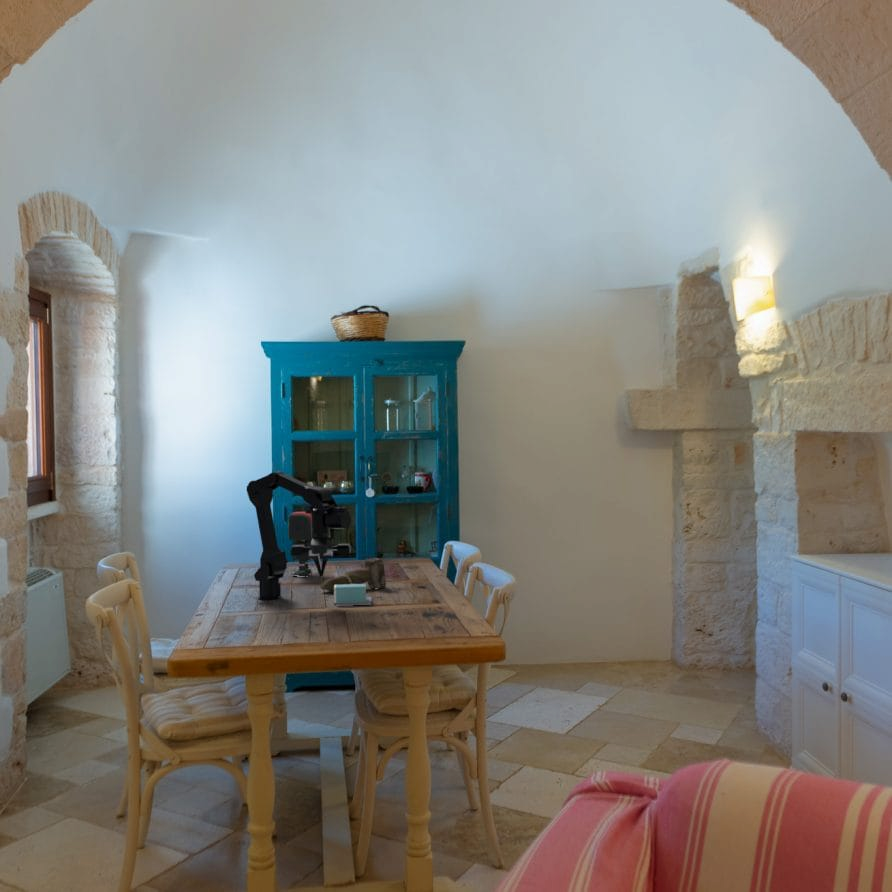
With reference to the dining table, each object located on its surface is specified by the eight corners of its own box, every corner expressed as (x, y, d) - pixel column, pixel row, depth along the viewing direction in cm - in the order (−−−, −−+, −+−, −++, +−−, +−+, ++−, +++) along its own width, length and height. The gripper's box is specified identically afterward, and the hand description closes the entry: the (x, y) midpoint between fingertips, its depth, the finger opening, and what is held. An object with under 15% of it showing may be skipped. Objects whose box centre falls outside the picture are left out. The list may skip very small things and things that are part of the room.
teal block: (333, 587, 266) (365, 586, 267) (334, 584, 271) (365, 583, 272) (334, 603, 266) (365, 602, 267) (334, 600, 271) (365, 599, 272)
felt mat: (336, 606, 263) (336, 605, 263) (338, 599, 275) (338, 597, 275) (371, 605, 264) (371, 604, 264) (371, 598, 276) (371, 596, 276)
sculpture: (341, 617, 293) (316, 585, 289) (388, 575, 301) (364, 543, 297) (349, 621, 286) (323, 588, 282) (396, 578, 294) (372, 545, 290)
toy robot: (297, 570, 334) (296, 495, 333) (320, 570, 333) (318, 495, 333) (284, 580, 312) (283, 500, 311) (309, 580, 311) (307, 499, 311)
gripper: (288, 531, 259) (289, 581, 260) (348, 530, 261) (349, 580, 261) (292, 527, 270) (292, 575, 271) (350, 526, 272) (350, 574, 272)
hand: (321, 576), depth 268 cm, fingers closed
